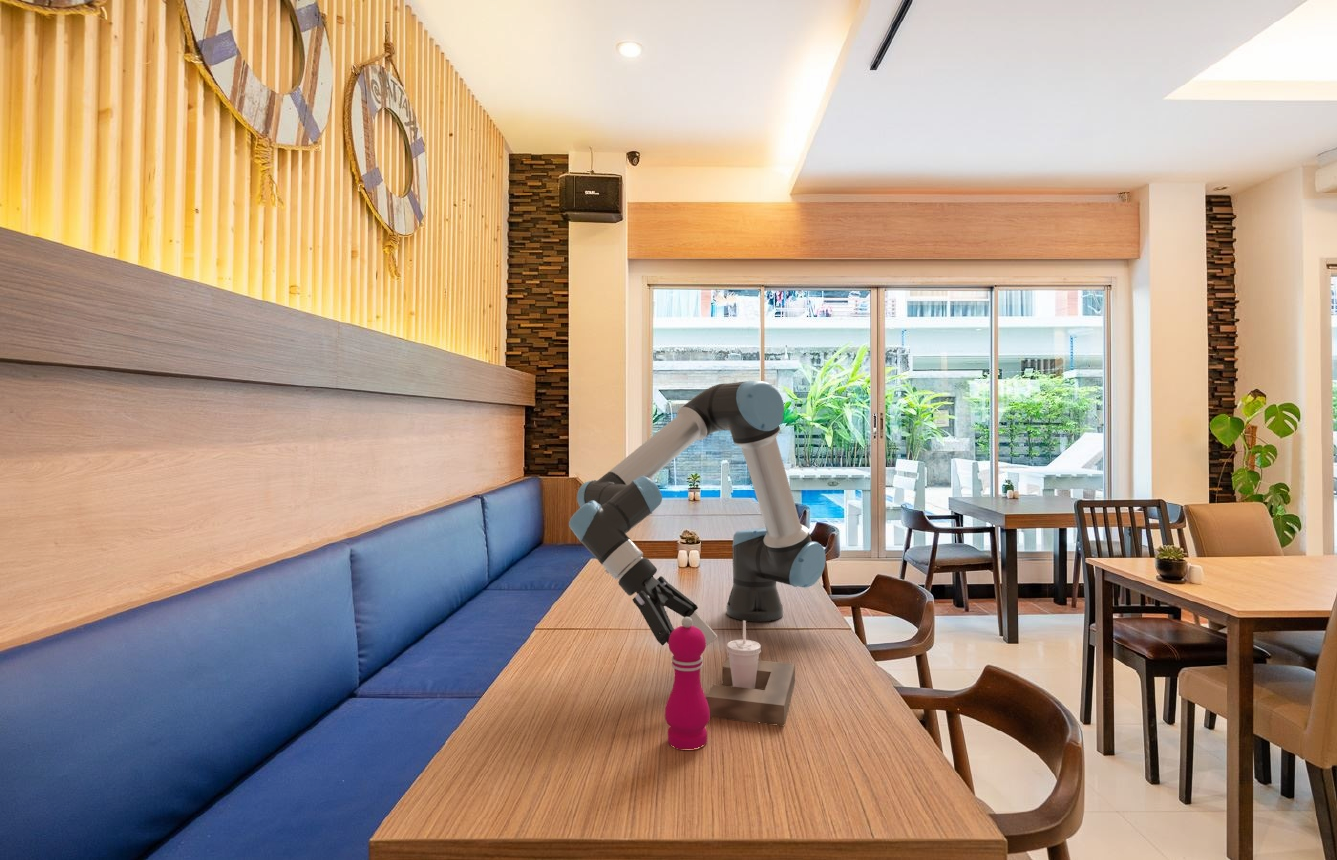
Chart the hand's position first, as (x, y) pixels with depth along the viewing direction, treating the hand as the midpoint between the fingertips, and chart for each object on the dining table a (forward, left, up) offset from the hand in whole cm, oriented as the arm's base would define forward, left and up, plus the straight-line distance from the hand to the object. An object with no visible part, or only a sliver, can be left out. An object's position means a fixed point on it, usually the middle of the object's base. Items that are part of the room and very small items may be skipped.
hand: (705, 652), depth 121 cm
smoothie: (-4, +6, -8) cm, 11 cm away
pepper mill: (+16, +10, -8) cm, 21 cm away
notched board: (-4, +8, -8) cm, 12 cm away
